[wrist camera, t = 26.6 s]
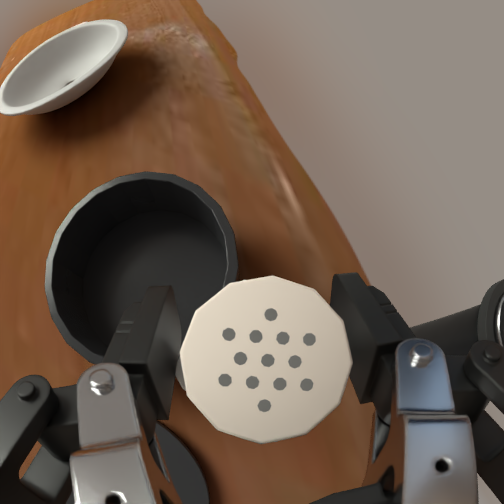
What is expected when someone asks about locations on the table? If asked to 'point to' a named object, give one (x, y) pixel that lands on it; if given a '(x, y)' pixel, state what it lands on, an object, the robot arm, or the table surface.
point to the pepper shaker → (265, 359)
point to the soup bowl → (62, 68)
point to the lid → (179, 469)
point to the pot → (136, 256)
